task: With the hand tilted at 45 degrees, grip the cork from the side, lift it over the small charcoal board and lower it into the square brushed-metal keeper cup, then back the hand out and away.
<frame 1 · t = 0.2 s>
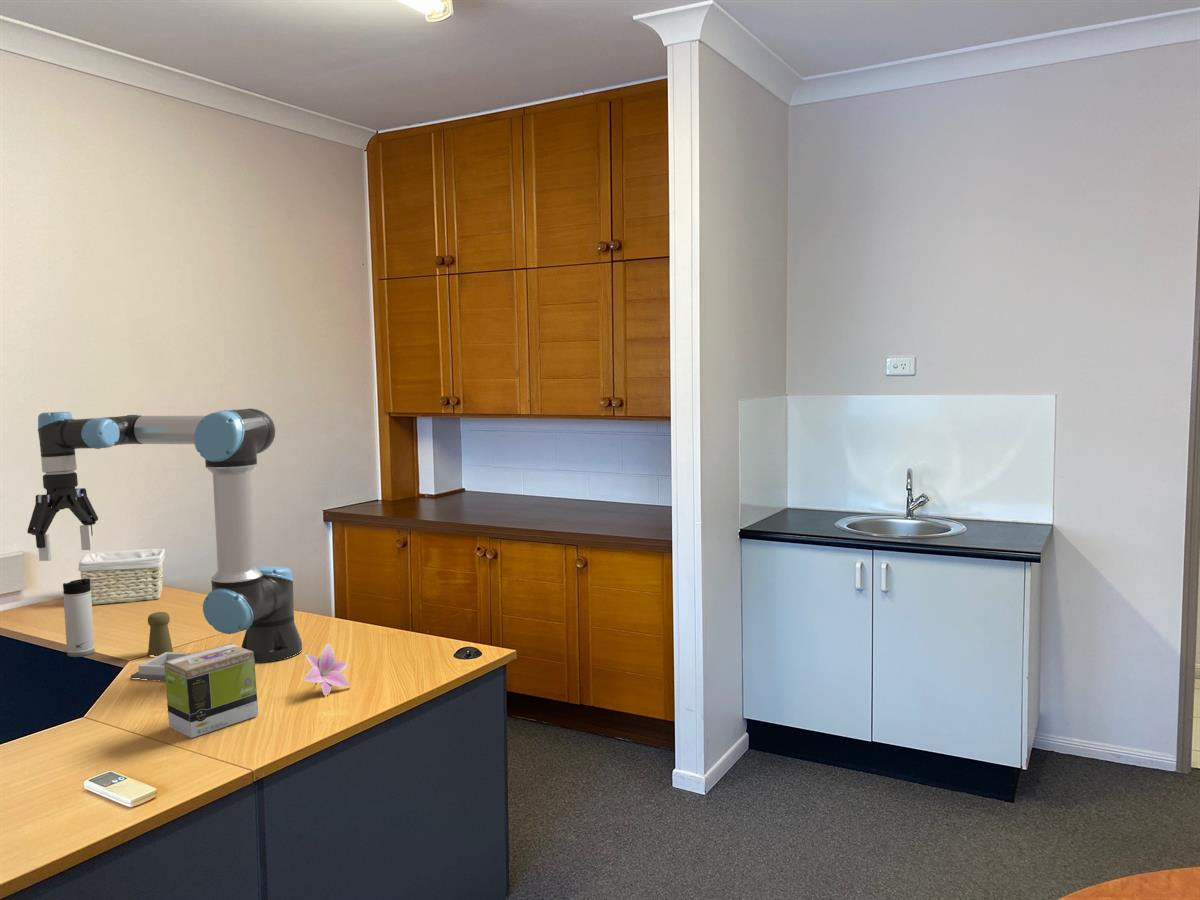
hand: (66, 555, 227), 27 cm above the table, tool pointing down, fingers open, 13 cm apart
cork: (160, 654, 234), on the table
storage basket: (125, 599, 291), on the table
travel mug: (81, 654, 234), on the table
lily: (326, 691, 207), on the table
tea box: (213, 723, 189), on the table
keeper board: (172, 671, 220), on the table
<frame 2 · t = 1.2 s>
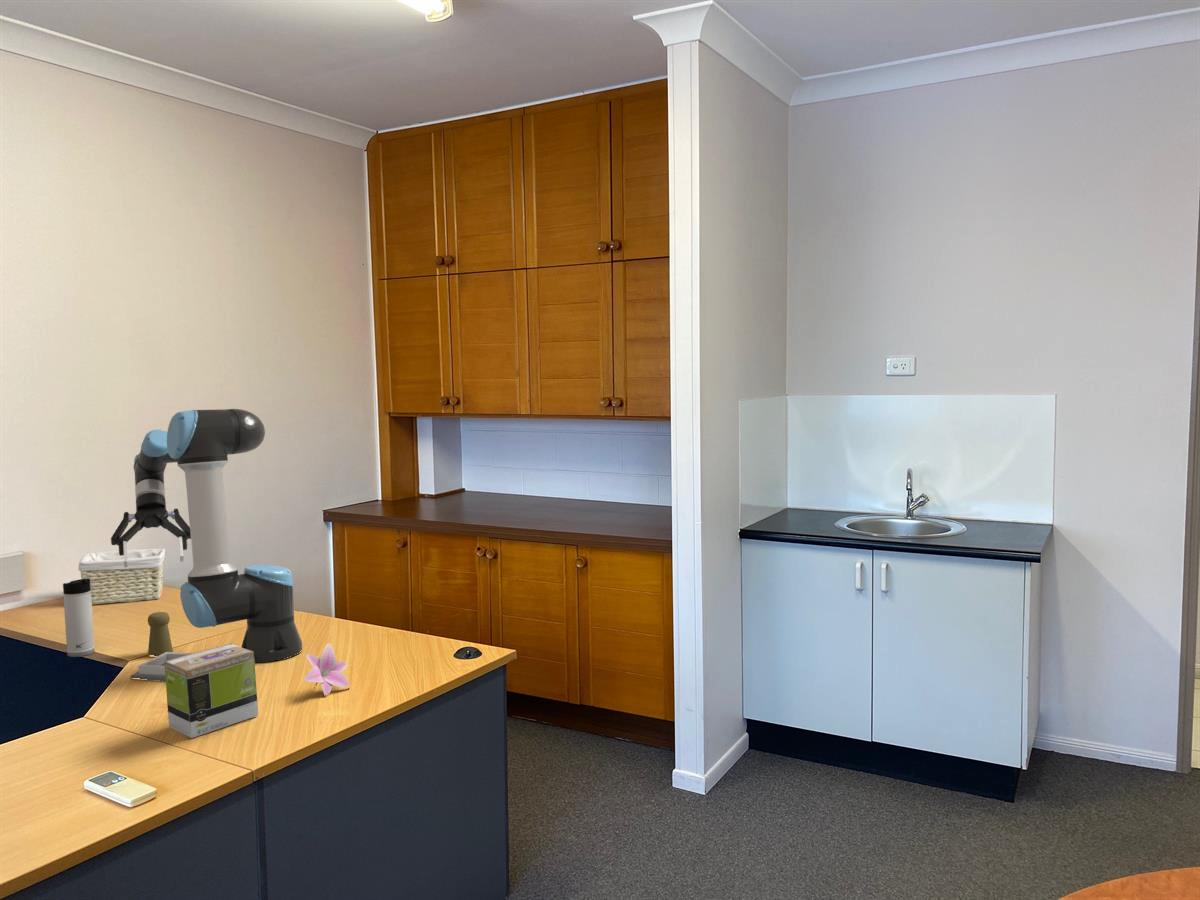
hand: (154, 561, 240), 23 cm above the table, tool tilted 45°, fingers open, 13 cm apart
nothing on the table moved.
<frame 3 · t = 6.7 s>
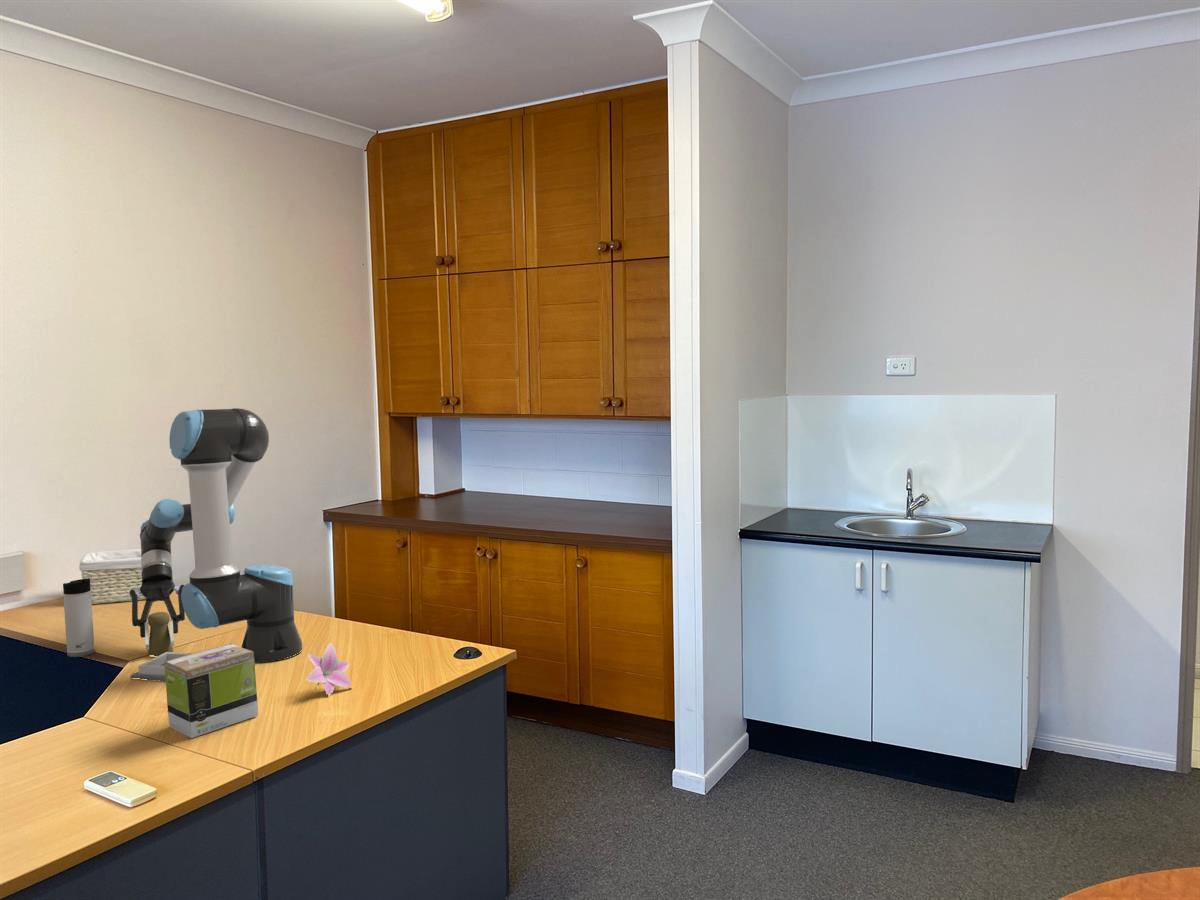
hand: (159, 645, 230), 3 cm above the table, tool tilted 45°, fingers closed on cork, 5 cm apart
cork: (160, 654, 234), on the table, touching gripper
everything else where it was.
when the fingers open (7 cm above the table, at t = 11.8 s): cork drops 2 cm, resting on keeper board.
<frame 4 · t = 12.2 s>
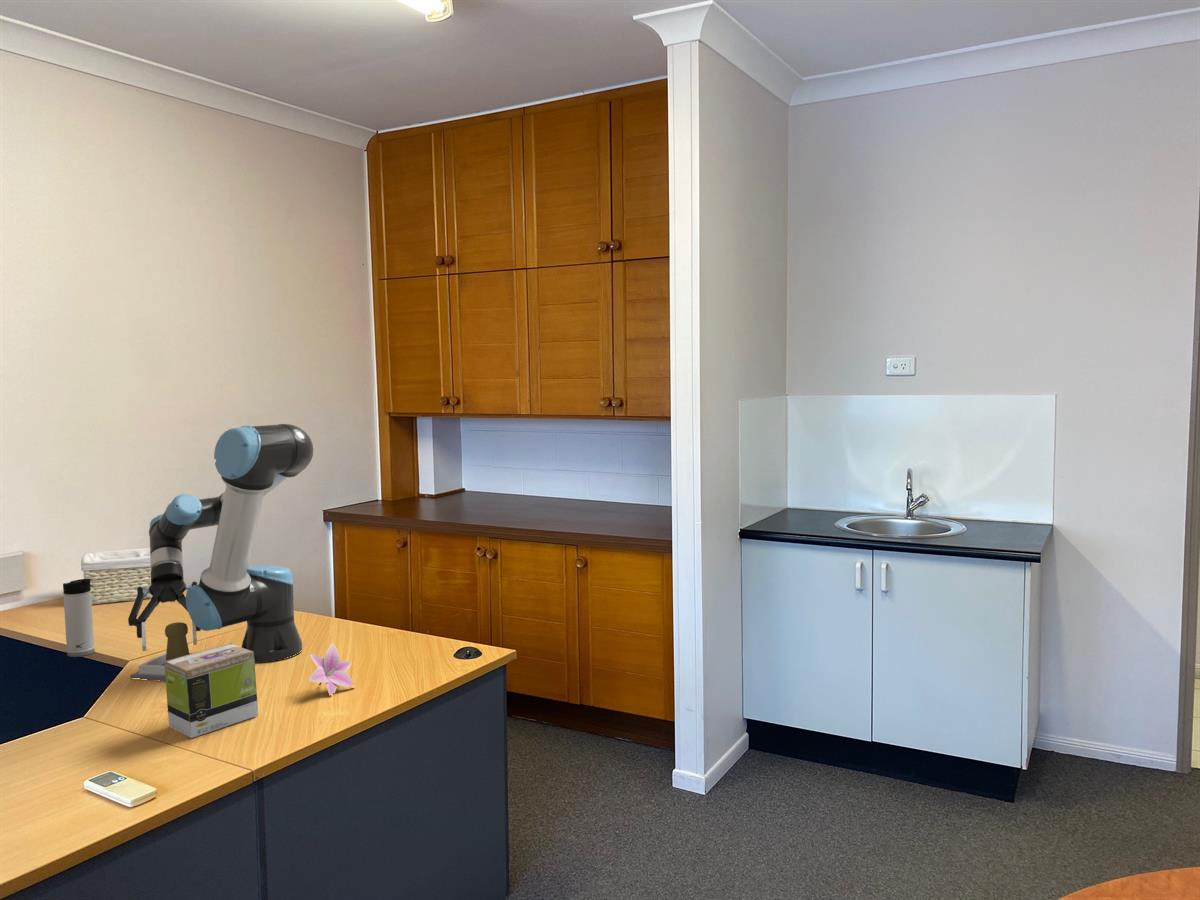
hand: (169, 645, 217), 8 cm above the table, tool tilted 45°, fingers open, 10 cm apart
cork: (178, 667, 221), point 1 cm above the table, touching keeper board
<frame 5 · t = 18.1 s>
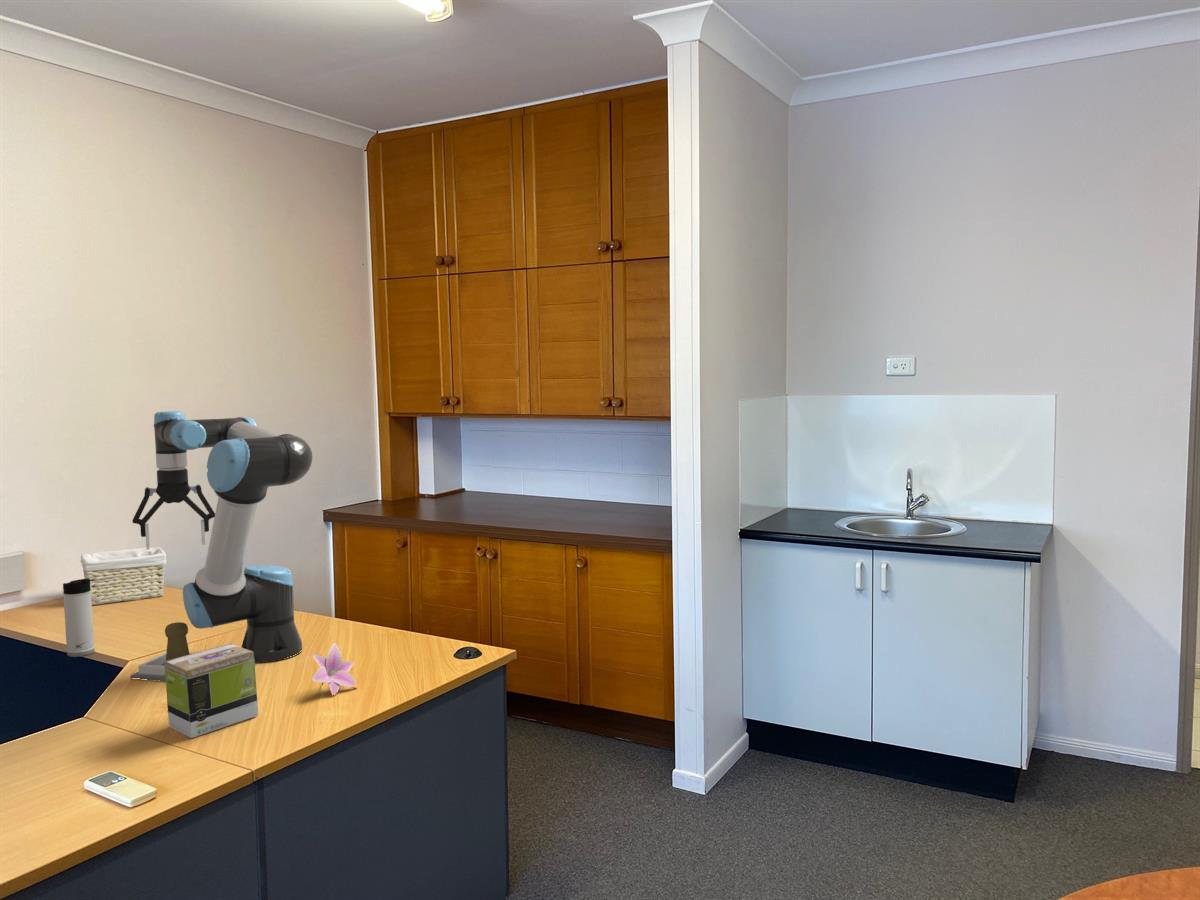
hand: (176, 546, 241), 27 cm above the table, tool pointing down, fingers open, 13 cm apart
at the end: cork 1.4 cm off-centre on the keeper board, point 0.8 cm above the keeper board's base; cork tilted 0°; the gripper is holding nothing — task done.
